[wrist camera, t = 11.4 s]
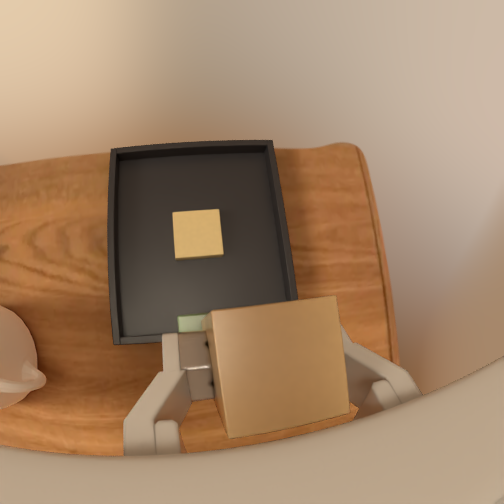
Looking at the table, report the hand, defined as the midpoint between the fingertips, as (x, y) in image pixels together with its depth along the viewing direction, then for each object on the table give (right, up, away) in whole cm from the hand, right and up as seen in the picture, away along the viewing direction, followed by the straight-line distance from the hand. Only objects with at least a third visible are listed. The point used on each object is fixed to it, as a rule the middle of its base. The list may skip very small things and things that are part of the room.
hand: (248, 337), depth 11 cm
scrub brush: (-1, -2, +5) cm, 5 cm away
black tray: (-5, +4, +17) cm, 18 cm away
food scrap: (-5, +4, +17) cm, 18 cm away
